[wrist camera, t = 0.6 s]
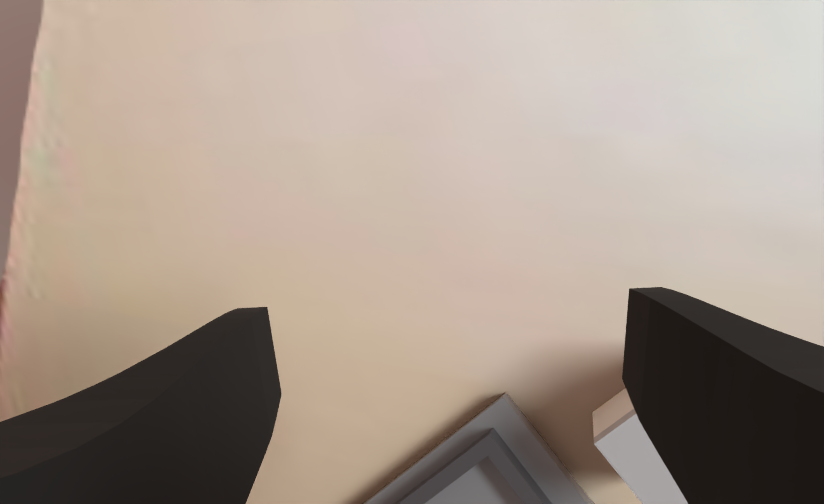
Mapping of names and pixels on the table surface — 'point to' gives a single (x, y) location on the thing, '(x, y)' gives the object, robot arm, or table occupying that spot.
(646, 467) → the plug
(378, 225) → the table surface
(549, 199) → the table surface
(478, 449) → the grey rectangular tray
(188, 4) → the table surface
